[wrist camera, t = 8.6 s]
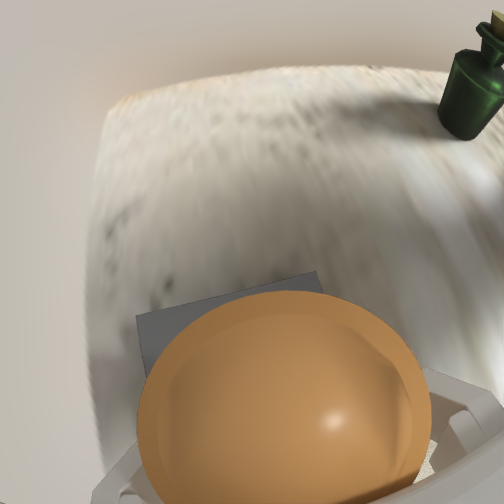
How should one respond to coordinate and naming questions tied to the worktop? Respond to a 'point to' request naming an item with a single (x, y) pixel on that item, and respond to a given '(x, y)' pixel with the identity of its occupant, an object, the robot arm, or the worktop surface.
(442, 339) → the worktop surface
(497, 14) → the potion bottle
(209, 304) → the gray peg hole board
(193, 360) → the mushroom head peg
